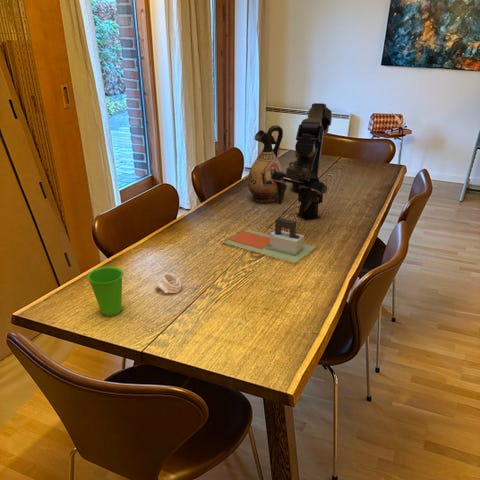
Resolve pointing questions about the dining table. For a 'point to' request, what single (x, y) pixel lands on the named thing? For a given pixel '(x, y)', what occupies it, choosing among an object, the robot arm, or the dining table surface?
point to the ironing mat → (264, 245)
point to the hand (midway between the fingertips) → (291, 207)
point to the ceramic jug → (265, 167)
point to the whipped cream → (166, 285)
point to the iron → (285, 238)
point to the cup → (107, 289)
